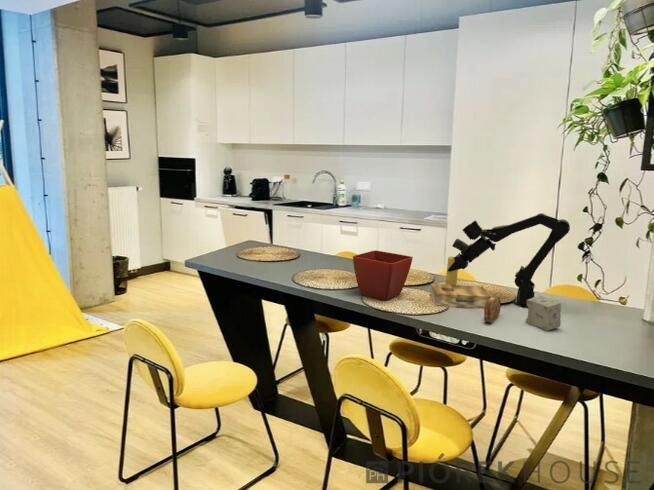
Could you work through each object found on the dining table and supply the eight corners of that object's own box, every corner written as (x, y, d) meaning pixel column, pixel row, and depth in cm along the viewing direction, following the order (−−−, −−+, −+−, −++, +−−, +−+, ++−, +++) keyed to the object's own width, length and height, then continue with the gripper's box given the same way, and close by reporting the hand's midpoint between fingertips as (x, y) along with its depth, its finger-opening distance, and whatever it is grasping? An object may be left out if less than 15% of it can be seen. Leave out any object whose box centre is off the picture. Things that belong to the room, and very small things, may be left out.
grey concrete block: (523, 323, 194) (526, 296, 192) (539, 321, 198) (542, 294, 196) (544, 332, 185) (547, 304, 183) (560, 329, 189) (564, 302, 187)
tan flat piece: (481, 297, 224) (482, 286, 224) (492, 309, 208) (493, 297, 207) (430, 294, 225) (431, 283, 224) (437, 306, 209) (438, 294, 208)
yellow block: (456, 284, 229) (459, 257, 227) (454, 286, 226) (457, 259, 224) (447, 282, 231) (449, 256, 229) (445, 284, 227) (448, 257, 225)
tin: (489, 325, 190) (492, 303, 188) (481, 323, 191) (483, 302, 190) (500, 315, 202) (502, 294, 201) (492, 313, 204) (494, 293, 202)
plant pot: (372, 285, 235) (374, 249, 232) (410, 294, 224) (413, 256, 221) (349, 294, 220) (351, 256, 216) (389, 304, 209) (392, 263, 206)
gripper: (469, 230, 231) (442, 251, 237) (461, 236, 214) (432, 259, 221) (485, 250, 229) (457, 271, 236) (478, 258, 212) (449, 280, 219)
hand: (449, 269), depth 228 cm, fingers closed on yellow block, 4 cm apart
